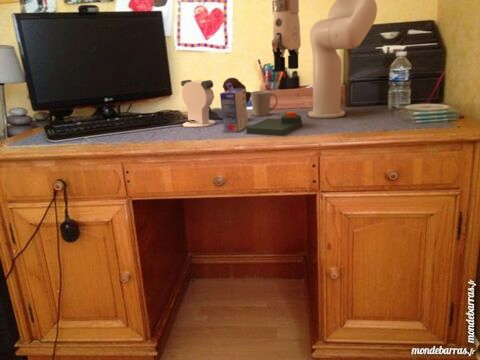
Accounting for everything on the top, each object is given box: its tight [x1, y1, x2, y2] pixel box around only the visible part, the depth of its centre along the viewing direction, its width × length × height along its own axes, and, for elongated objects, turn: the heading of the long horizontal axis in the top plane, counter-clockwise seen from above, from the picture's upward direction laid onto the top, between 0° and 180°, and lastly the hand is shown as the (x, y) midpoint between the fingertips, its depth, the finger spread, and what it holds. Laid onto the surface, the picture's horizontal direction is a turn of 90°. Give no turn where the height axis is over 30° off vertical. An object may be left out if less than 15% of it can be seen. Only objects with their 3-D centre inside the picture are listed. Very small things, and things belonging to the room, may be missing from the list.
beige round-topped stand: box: [180, 79, 216, 128], centre depth 134 cm, size 12×11×15 cm
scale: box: [246, 114, 303, 137], centre depth 120 cm, size 15×13×4 cm
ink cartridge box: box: [219, 83, 249, 133], centre depth 123 cm, size 10×6×14 cm, turn 161°
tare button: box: [285, 111, 297, 117], centre depth 121 cm, size 3×3×2 cm
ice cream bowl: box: [222, 77, 251, 105], centre depth 136 cm, size 11×11×15 cm
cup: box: [250, 90, 279, 117], centre depth 145 cm, size 8×10×8 cm
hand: (286, 70), depth 117 cm, fingers open, 9 cm apart
